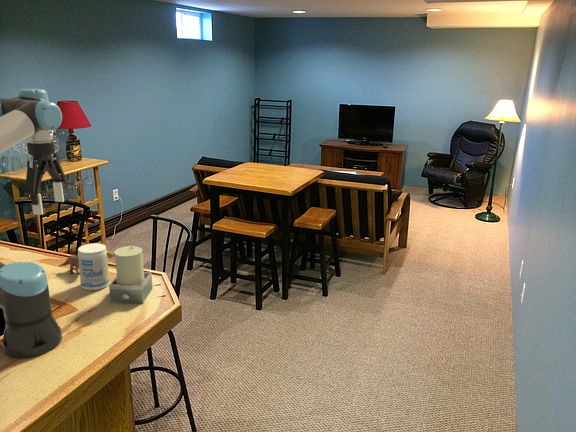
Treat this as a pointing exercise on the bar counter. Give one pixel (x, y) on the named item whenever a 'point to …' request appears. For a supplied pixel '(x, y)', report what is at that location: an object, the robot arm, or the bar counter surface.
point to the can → (129, 265)
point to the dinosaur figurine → (72, 263)
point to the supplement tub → (93, 266)
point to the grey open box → (131, 291)
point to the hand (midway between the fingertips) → (49, 207)
